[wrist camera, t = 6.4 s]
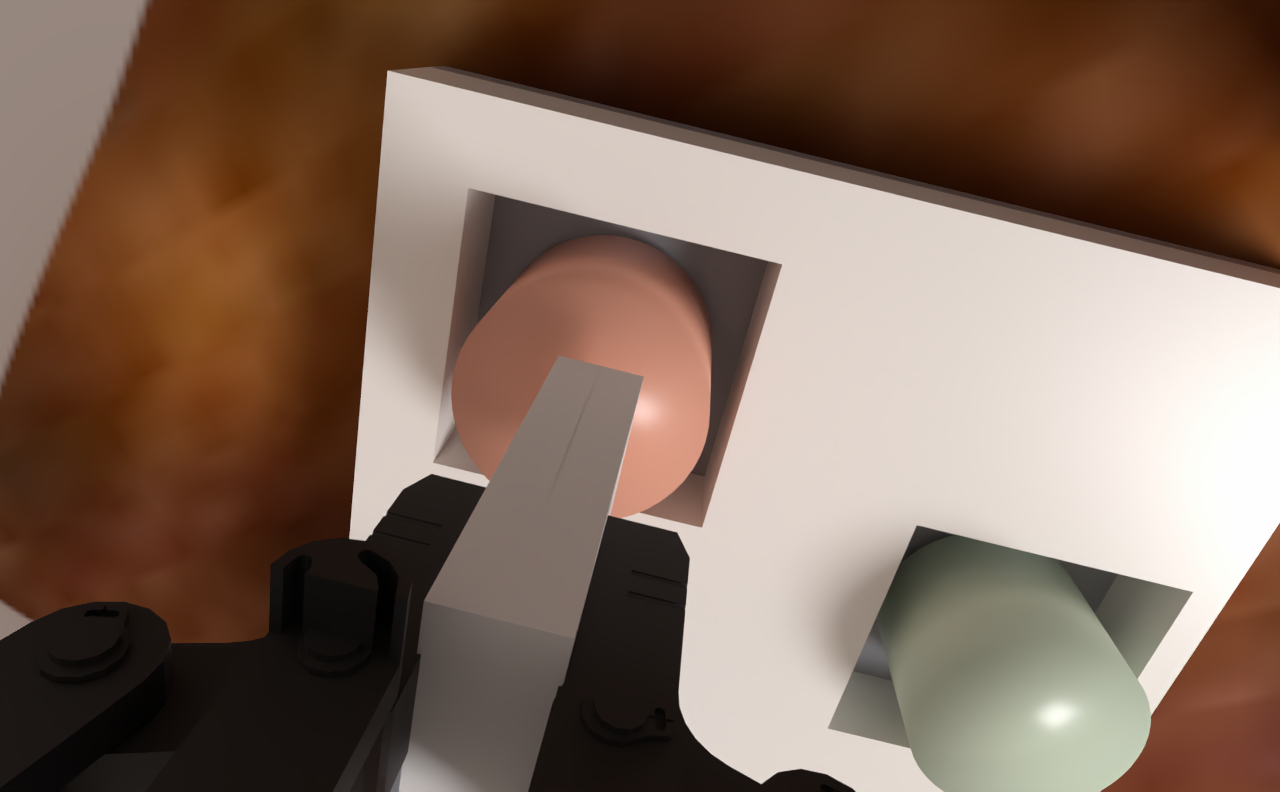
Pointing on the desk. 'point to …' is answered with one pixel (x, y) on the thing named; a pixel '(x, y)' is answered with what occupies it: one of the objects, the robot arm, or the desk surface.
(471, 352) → the terracotta button
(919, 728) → the sage button
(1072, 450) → the console
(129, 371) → the desk surface
